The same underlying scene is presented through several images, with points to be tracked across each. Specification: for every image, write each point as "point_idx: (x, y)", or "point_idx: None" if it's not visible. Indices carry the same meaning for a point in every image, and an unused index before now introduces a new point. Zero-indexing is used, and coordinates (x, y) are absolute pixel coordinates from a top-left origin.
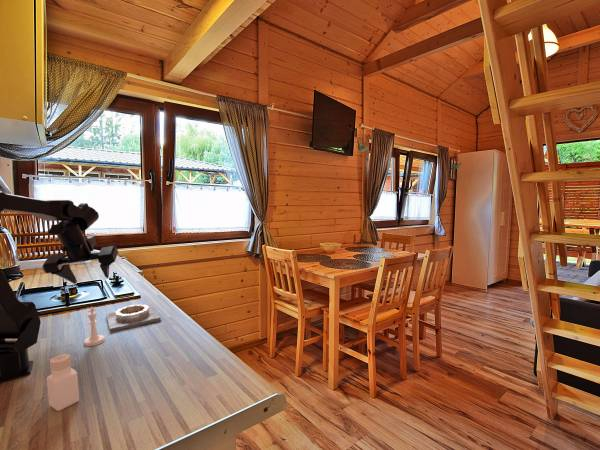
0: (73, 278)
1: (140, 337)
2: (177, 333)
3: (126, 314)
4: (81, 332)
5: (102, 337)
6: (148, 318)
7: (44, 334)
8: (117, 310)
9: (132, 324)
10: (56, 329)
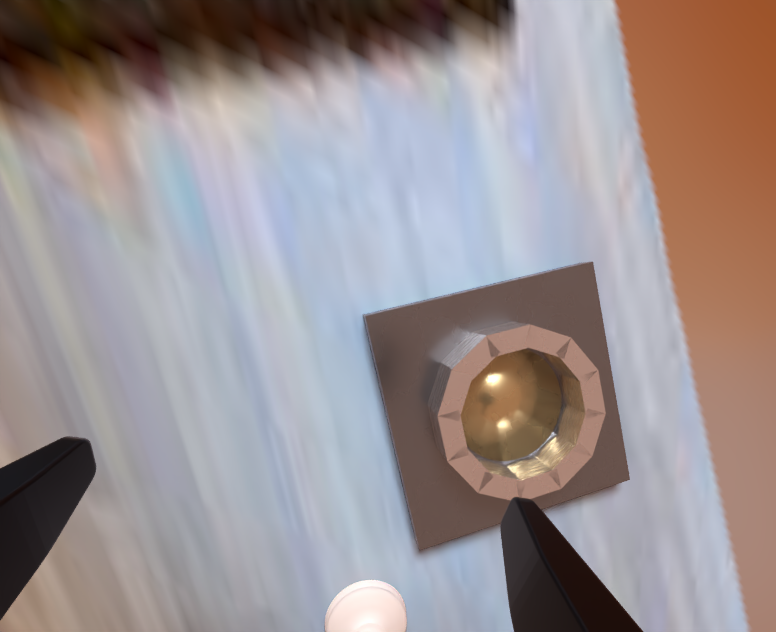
0: (9, 558)
1: None
2: (670, 626)
3: (500, 483)
4: (279, 488)
5: (400, 629)
6: (580, 474)
7: None
8: (445, 394)
9: None
10: (129, 399)
